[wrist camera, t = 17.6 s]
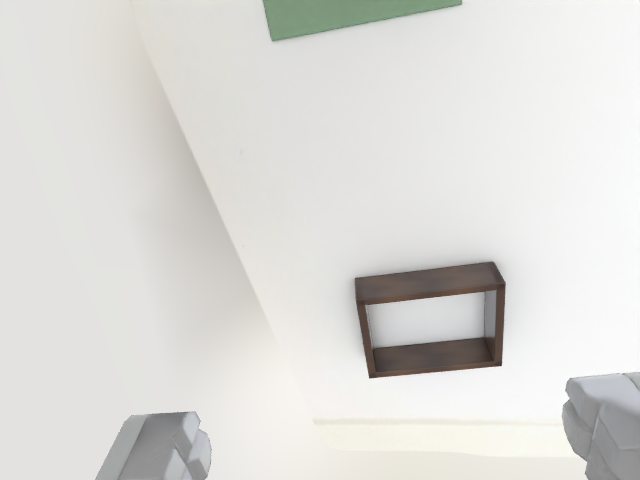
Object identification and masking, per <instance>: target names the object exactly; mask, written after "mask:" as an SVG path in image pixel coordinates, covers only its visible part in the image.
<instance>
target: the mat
mask: <svg viewBox="0 0 640 480" xmlns="http://www.w3.org/2000/svg"><path fill="white" fill-rule="evenodd" d="M263 3H264V7H265V12H266V17H267V21H268V26H269V31H270V35H271V40H272V41H276V40H281V39H286V38H291V37H297V36H302V35H307V34H312V33H317V32H322V31H327V30H333V29H338V28H343V27H348V26H353V25H358V24H363V23H368V22H374V21H379V20H384V19H389V18H394V17H399V16H404V15H410V14H415V13H420V12H425V11H430V10H435V9H440V8H445V7H451V6H456V5H461V4H462V0H263Z"/></svg>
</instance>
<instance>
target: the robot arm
mask: <svg viewBox="0 0 640 480" xmlns="http://www.w3.org/2000/svg"><path fill="white" fill-rule="evenodd" d="M565 391H566V392H567V394H568V396H569V398H570V399H569V400H568V401H567V402H566V403H565V404H564V405H563V412H562V419H563V425H564V430H565V433H566V435H567V438H568V441H569V443H570V445H571V447H572V449H573V451H574V452H575V453H576V454H577V455H579V456H580V457H581V458H583V459H584V460H586V461H587V466H586V471H585V474H586V476H587V478H588V480H640V372H634V373H623V374H620V373H617V374H607V375H597V376H587V377H577V378H570V379H569V380H568V381H567V385H566V390H565ZM199 424H200V419H199V417H198V415H197V413H196V412H177V413H159V414H145V415H132V416H130V417H129V418H128V419H127V420H126V421H125V422H124V424H123V426H122V428H121V430H120V432H119V434H118V436H117V438H116V440H115V442H114V444H113V446H112V447H111V449H110V451H109V453H108V455H107V457H106V459H105V461H104V463H103V465H102V467H101V469H100V471H99V473H98V475H97V477H96V479H95V480H204V479H206V477H207V476H208V472H209V468H210V464H211V445H210V440H209V438H208V435H207V434H206V433H205V432H204V431H202V430H200V429H199V428H198V427H199Z"/></svg>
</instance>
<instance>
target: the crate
mask: <svg viewBox="0 0 640 480" xmlns="http://www.w3.org/2000/svg"><path fill="white" fill-rule="evenodd" d="M505 285H506V283H505V281H504V279H503V277H502V276H501V274H500V272H499V270H498V269H497V267H496V265H495V263H494V262H488V263H480V264H472V265H464V266H455V267H447V268H439V269H431V270H423V271H414V272H406V273H398V274H390V275H381V276H373V277H365V278H356V279H355V293H356V304H357V310H358V315H359V321H360V327H361V333H362V339H363V345H364V351H365V356H366V362H367V368H368V374H369V378H378V377H389V376H399V375H410V374H421V373H432V372H442V371H453V370H464V369H475V368H485V367H496V366H502V351H503V329H504V307H505ZM476 292H485V327H484V338H477V339H467V340H457V341H447V342H437V343H428V344H418V345H408V346H398V347H388V348H378V349H374V348H373V341H372V335H371V329H370V322H369V316H368V309H367V305H371V304H380V303H389V302H397V301H406V300H415V299H424V298H433V297H441V296H450V295H459V294H468V293H476Z"/></svg>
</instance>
